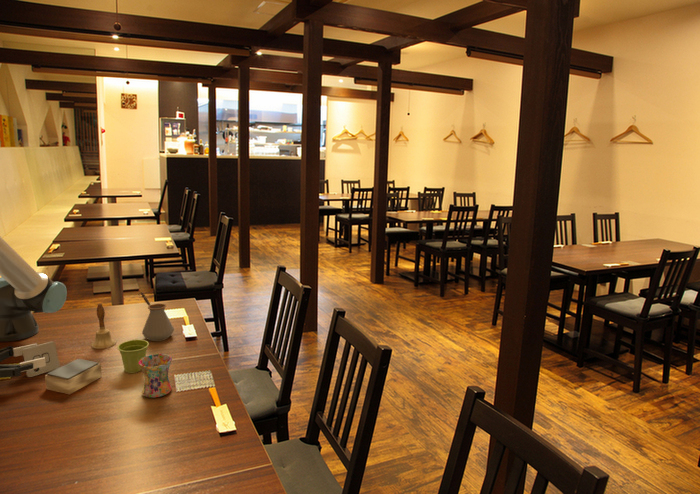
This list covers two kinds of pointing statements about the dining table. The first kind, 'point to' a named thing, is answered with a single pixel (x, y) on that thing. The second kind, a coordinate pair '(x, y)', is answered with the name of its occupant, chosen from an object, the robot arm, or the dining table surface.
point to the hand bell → (102, 332)
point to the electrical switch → (42, 351)
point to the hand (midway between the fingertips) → (41, 354)
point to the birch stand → (73, 376)
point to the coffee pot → (157, 322)
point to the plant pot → (133, 354)
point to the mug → (156, 375)
